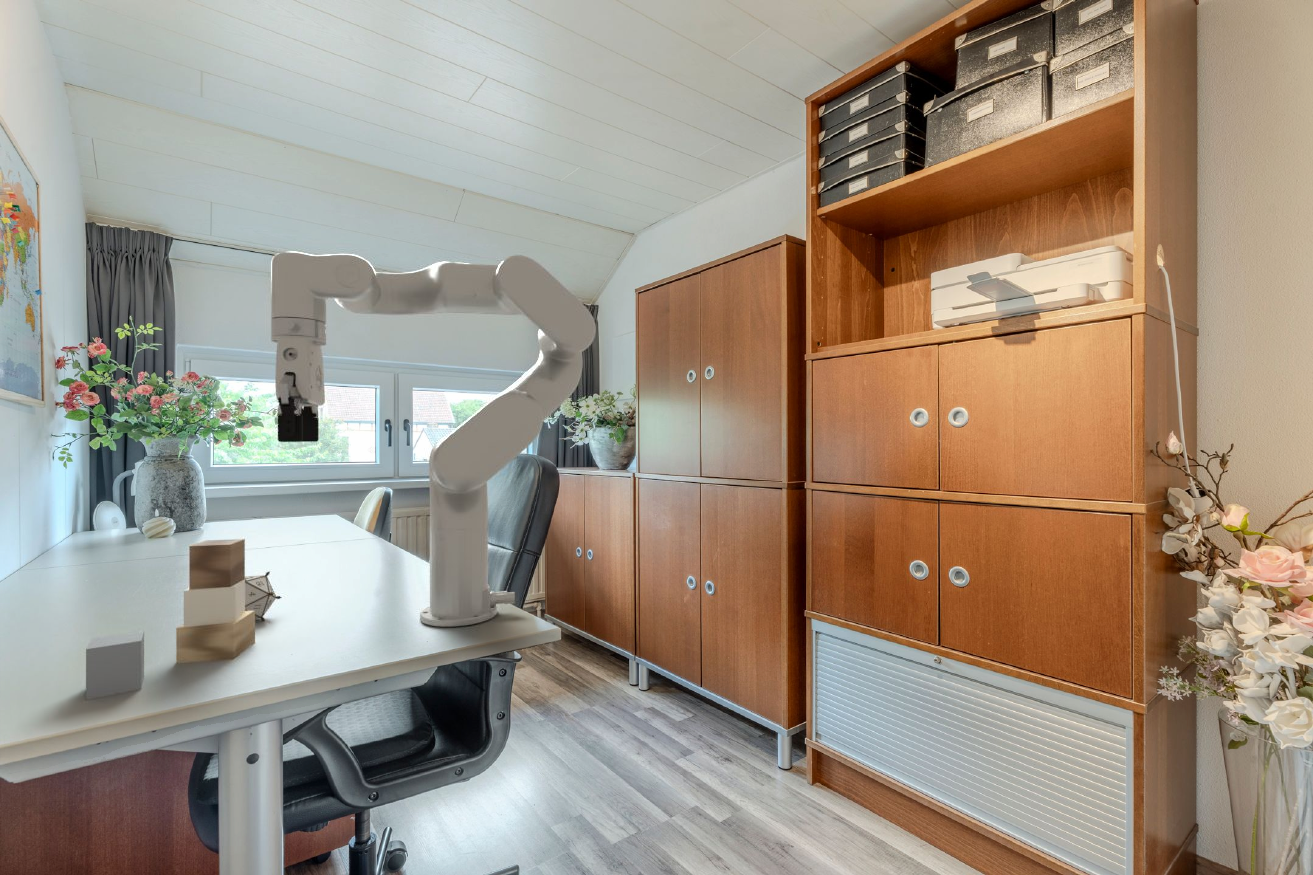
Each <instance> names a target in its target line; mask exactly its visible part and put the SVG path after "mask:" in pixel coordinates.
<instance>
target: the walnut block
mask: <svg viewBox="0 0 1313 875" xmlns="http://www.w3.org/2000/svg"><path fill="white" fill-rule="evenodd" d="M188 549H189V556H188V557H189V571H188V573H189V575H188V576H189V578H188V580H189V581H188V582H189V586H188V587H189V589H203V588H222V587H231V586H233V585H235V584H237V583H239V582H241V581H242V580H244V579H245V577H246V575H245V574H246V572H245V571H246V568H245V567H246V566H245V564H246V563H245V560H246V559H245V558H246V554H245V553H246V552H245V550H246V539H245V538H237V539H236V538H235V539H231V538H230V539H212V540H210V539H209V540H207V539H206V540H203V541H201V542H198V543H195V544H191V545H189V547H188Z"/></svg>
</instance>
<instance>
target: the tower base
mask: <svg viewBox="0 0 1313 875" xmlns="http://www.w3.org/2000/svg"><path fill="white" fill-rule="evenodd" d="M175 629H176V631H175V632H176V635H175V639H176V640H175V643H176V645H175V646H176V648H175V649H176V650H175V652H176V654H175V656H176V661H175V664H183V663H195V662H197V663H198V662H208V661H209V662H210V661H225V660H234V659H236V658H237V657H238V656H240V655H241V654H242V653H244V652H245V651H246V650H247V649H249V648H250V647H251V646H253V645H254V644H256V619H255V610H254V611H245V612H244V613H243V614H242V615H241V616H240V618H239V619H238V620H237V621H236V622H231V623H221V624H211V625H201V626H191V627H184V623H182V624H181V625H179V626H177V627H176V628H175Z"/></svg>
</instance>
